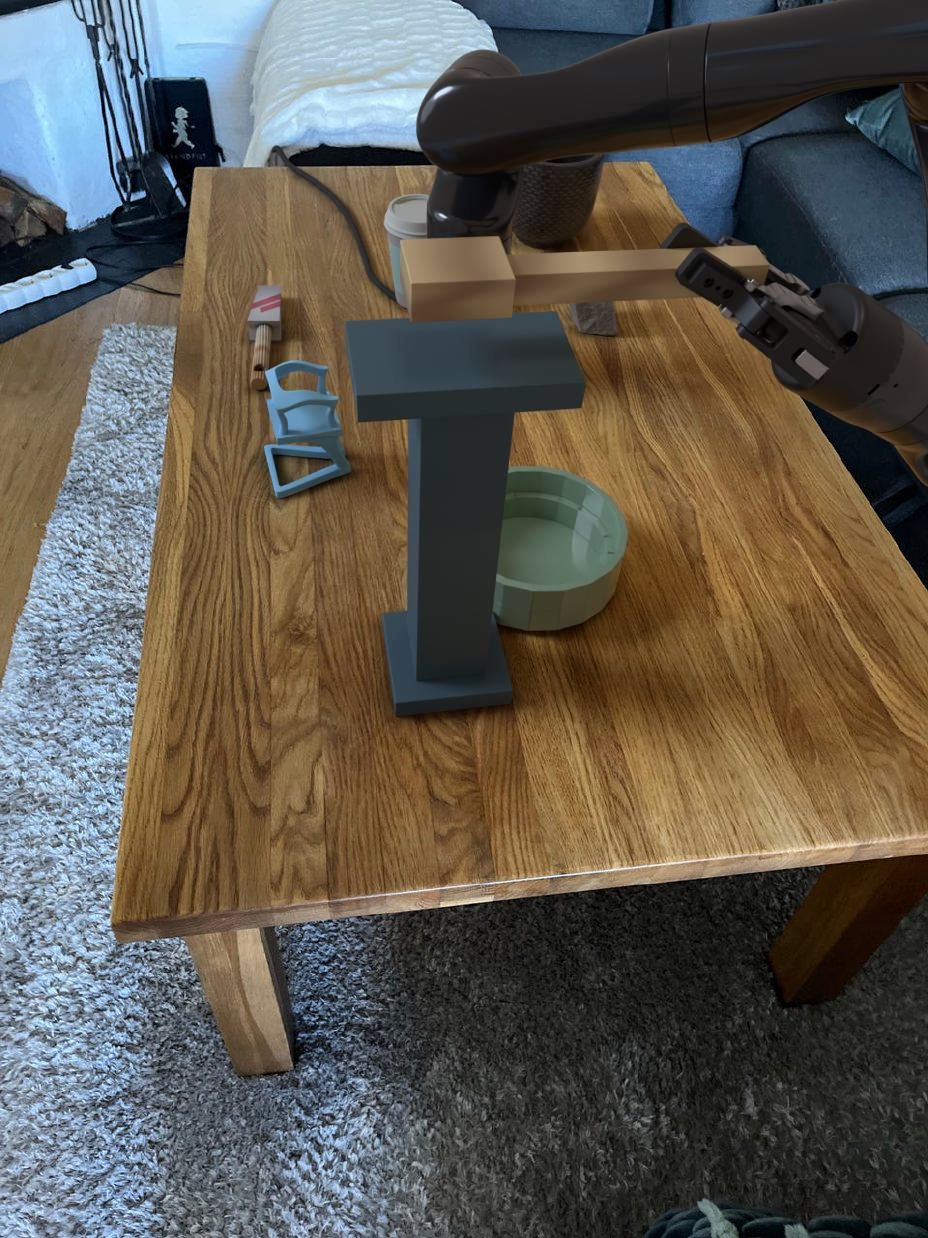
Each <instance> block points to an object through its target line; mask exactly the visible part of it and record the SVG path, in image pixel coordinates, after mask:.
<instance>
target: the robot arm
mask: <svg viewBox="0 0 928 1238" xmlns="http://www.w3.org/2000/svg"><path fill="white" fill-rule="evenodd" d="M889 85H898V86H899V94H900V97H901V101H902V104H903V107H904V111H905V115H906V119H907V122H908V126H909V130H910V134H911V137H912V142H913V144H914V149H915V153H916V157H917V161H918V165H919V171H920V172H919V173H920V177H921V183H922V190H923V196H924V206H925V223H926V224H925V225H926V227H925V229H926V280H927V281H926V282H927V283H926V284H928V0H832V1H827V2H823V3H817V4H811V5H805V6H800V7H794V8H789V9H783V10H779V11H774V12H769V13H764V14H757V15H753V16H752V15H751V16H745V17H738V18H732V19H731V18H730V19H729V18H728V19H722V20H713V21H709V22H702V23H696V24H691V25H685V26H679V27H673V28H667V29H663V30H659V31H654V32H652V33H647V34H645V35H642V36H638V37H636V38H634V39H630V40H628V41H625V42H623V43H620V44H618V45H616V46H614V47H611V48H608V49H606V50H603V51H601V52H598V53H596V54H594V55H591V56H590V57H587V58H585V59H583V60H580V61H577V62H575V63H573V64H570V65H566V66H564V67H561V68H556V69H553V70H552V69H551V70H548V71H543V72H536V73H528V74H522V72H521V70H520V69H519V68H518V66H517V65H516V64H515V62H513V61H512V60H511V59H510V58H509V57H508V56H506V55H505V54H503V53H500V52H498V51H496V50H492V49H484V48H483V49H475V50H471V51H469V52H466V53H464V54H462V55H461V56H460V57H458V58H457V59H456V60H454V61H453V62H452V64H451V65H450V66H448V67H447V68H446V70H445V71H443V73H442V74H440V76H439V77H438V78H437V79H436V80H435V81H434V82H433V83H432V84H431V86H430V88H429V89H428V90H427V92H426V93H425V95H424V97H423V99H422V101H421V103H420V106H419V108H418V111H417V115H416V121H415V135H416V140H417V142H418V145H419V148H420V149H421V151H422V153H423V154H424V156H425V157H426V158H427V159H428V160H429V162H430V163H431V164H432V165H434V166H435V167H436V169H435V176H434V179H433V182H432V186H431V189H430V191H429V194H428V195H429V197H428V201H427V210H426V239H432V238H461V237H491V236H499V237H500V240H501V242H502V245H503V247H504V250H505V253H506V255H510V254H512V253H511V252H512V242H513V223H514V216H515V212H516V208H517V204H518V201H519V197H520V193H521V187H522V180H523V172H524V166H526V165H530V164H534V163H538V162H542V161H547V160H552V159H557V158H564V157H570V156H580V155H594V154H605V155H606V154H616V153H617V154H618V153H625V152H633V151H634V152H636V151H642V150H653V149H666V148H667V149H669V148H677V147H678V148H680V147H686V146H687V147H688V146H697V145H704V144H705V145H706V144H712V143H718V142H724V141H729V140H733V139H736V138H740V137H742V136H746V135H748V134H750V133H752V132H754V131H756V130H758V129H761V128H762V127H765V126H766V125H767V126H768V125H769V124H770V123H773V122H775V121H776V120H779V119H780V118H782V117H784V116H786V115H788V114H790V113H791V112H793V111H796V110H797V109H799V108H801V107H803V106H804V105H806V104H808V103H810V102H813V101H815V100H818V99H821V98H823V97H826V96H829V95H833V94H836V93H840V92H845V91H850V90H855V89H865V88H873V87H879V86H889ZM270 152H271V153H273V154H276V153H277V155H278V156H279V157H280V159H281V161H282V162H283V164H284V165H285V166H286V167H287V168H288V169H289V170H290V171H292V172H294V173H295V174H296V175H298V176H300V177H301V178H303V179H305V180H306V181H308V182H309V183H311V184H312V185H314V186H315V187H316V188H317V189H319V190H320V191H321V192H322V193H324V194H325V195H326V197H328V198H330V200H331V201H332V202H333V204H335V206H337V208H338V209H339V210H340V212H341V213H342V215H343V216H344V218H345V220H346V222H347V224H348V226H349V227H350V228H349V229H350V231H352V234H353V237H354V239H355V242H356V245H357V248H358V252H359V254H360V256H361V259H362V263H363V265H364V269H365V272H366V275H367V276H368V278H369V280H370V281H371V283H372V284H373V285H374V286H375V287H376V288H377V289H378V290H379V291H381V292H382V293H383V294H384V295H385V296H387V297H388V298H390V299H391V300H392V301H394V302H396V303H398V302H397V299H396V295H395V292H394V291H392V290H391V289H389V288H388V287H387V286H386V285H385V284H384V283H383V282H382V281H381V280H380V279H379V278H378V277H377V275H376V274H375V272H374V270H373V267H372V265H371V261H370V259H369V255H368V253H367V249H366V247H365V245H364V242H363V239H362V236H361V234H360V233H361V232H360V231H359V228H358V227H357V224H356V223H355V222H356V221H354V218H353V217H352V215H351V213H350V211H349V210H348V209H347V208H346V206H345V204H344V202H342V201H341V200H340V199H339V197H338V196H337V195H336V194H335V193H334V192H333V191H331V190H330V189H329V188H328V187H327V186H325V185H324V184H323V182H321V181H319V180H318V179H317V178H316V177H314V176H312V175H311V174H309V173H307V172H306V171H305V170H303V169H301V168H299V167H298V166H296V165H295V164H293V163H292V162H291V161H290V160H289V158H288V157H287V155H286V154H285V152H284V150H283V149H282V148H281V146H280V145H277V144H274V145H273V146H272V148H271V149H270ZM751 245H752V244H749V243H748V242H745V241H741V240H739V239H737V238H734V237H733V236H730V235H727V234H724V233H721V234H720V235H719V237H718V238H716V240H714V239H712V238H710V237H709V236H707V235H706V234H704V233H703V232H701V231H700V230H698V229H696V228H695V227H694V226H692V225H690V224H689V223H687V222H680V223H678V224H676V225H675V227H674V228H673V229H672V230H671V232H670V233H669V234H668V235H667V237H666V238H665V239H664V241H663V242H662V243H661V245H660V248H659V249H674V248H694V249H693V250H692V251H691V252H690V253H689V254H688V256H687V257H686V258H685V259H684V261H683V262H682V263H681V264H680V266H679V267H678V268H677V270H676V273H675V276H676V278H677V280H678V281H679V283H680V284H681V285H682V286H684V287H686V288H687V289H689V290H691V291H692V292H694V293H696V294H697V295H699V296H701V297H700V298H703V299H704V300H706V301H708V302H709V303H710V304H713V305H714V306H716V307H718V311H719V312H720V313H721V314H720V315H721V316H722V317H723V318H724V319H726V320H729V321H730V322H732V323H734V324H736V325H737V326H736V327H735V331H736V332H737V335H738V336H739V337H740V338H741V339H742V340H745V341H746V342H747V343H749V344H750V345H751V346H753V347H754V348H755V349H756V350H758V351H759V352H760V353H762V355H764V356H765V357H767V358H768V359H769V360H770V366H771V370H772V373H773V376H774V378H775V380H776V381H777V382H778V383H779V384H780V385H781V386H782V387H783V388H785V389H786V390H788V391H790V392H792V393H793V394H795V395H797V396H799V397H800V398H802V399H804V400H806V401H808V402H810V403H812V404H813V405H815V406H817V407H818V408H820V409H822V410H824V411H826V413H829V414H831V415H832V416H834V417H836V418H838V419H840V420H842V421H843V422H845V423H848V424H851V425H853V426H856V427H860V428H862V429H865V430H867V431H868V432H870V433H872V434H873V435H875V436H877V437H879V438H881V439H882V440H884V441H886V442H888V443H889V444H892V446H894V448H895V449H896V450H897V452H898V453H899V455H900V456H901V458H902V459H903V460H904V461H905V462H906V464H907V465H908V467H909V468H910V469H911V471H912V472H913V473H914V475H915V476H916V478H917V479H918V480H919V482H921V484H923V485H924V486H925V487H927V488H928V339H927V337H926V336H925V335H924V334H923V333H922V332H921V331H920V330H919V329H918V328H917V327H916V326H914V325H912V324H911V323H910V322H908V321H907V320H906V319H904V318H903V317H901V316H900V315H898V314H897V313H895V312H894V311H892V310H891V309H890V308H888V307H887V306H885V305H884V304H882V303H880V302H879V301H878V300H877V299H875V298H874V297H872V296H870V295H869V294H867V293H866V292H864V291H863V290H862V289H861V288H859V287H858V286H856V285H853V284H851V283H847V282H831V283H828V284H827V283H826V284H824V285H822V286H819V287H817V288H815V289H810V287H809V286H808V285H807V283H805V282H804V281H803V280H801V279H800V278H798V277H797V276H796V275H794V274H792V273H790V272H787V273H785V272H782V271H781V270H780V269H779V268H777V267H776V266H774V265H772V264H771V263H770V262H768V263H769V264H770V267H769V270H768V273H767V276H766V279H765V282H764V285H763V284H761V283H759V282H758V281H757V280H756V279H755V278H751V277H749V276H746V277H745V278H744V277H743V275H742V274H741V272H739V271H738V270H736V269H735V268H733V267H732V266H730V265H729V264H727V263H726V262H724V261H723V260H721V259H719V258H718V257H716V256H715V255H713V254H712V253H710V252H708V251H707V250H705V249H704V248H702V247H724V246H751ZM758 249H759V250H760V252H761V253H762V254H763V256H764V257H765V259H766V260H767V259H768V256H767V255H766V252H765V251H764V250H763V249H762V248H760V247H758ZM743 278H744V279H743ZM742 279H743V281H742V282H741V280H742ZM398 304H399V303H398Z"/></svg>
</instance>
